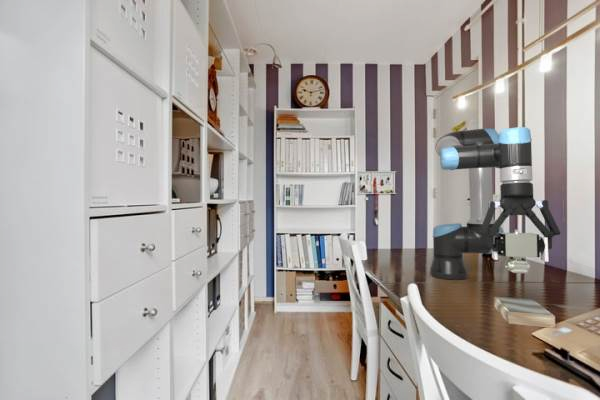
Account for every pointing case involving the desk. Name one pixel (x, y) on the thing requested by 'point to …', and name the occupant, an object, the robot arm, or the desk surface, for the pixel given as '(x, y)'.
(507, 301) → the book
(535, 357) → the desk surface
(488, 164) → the robot arm
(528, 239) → the pneumatic valve
